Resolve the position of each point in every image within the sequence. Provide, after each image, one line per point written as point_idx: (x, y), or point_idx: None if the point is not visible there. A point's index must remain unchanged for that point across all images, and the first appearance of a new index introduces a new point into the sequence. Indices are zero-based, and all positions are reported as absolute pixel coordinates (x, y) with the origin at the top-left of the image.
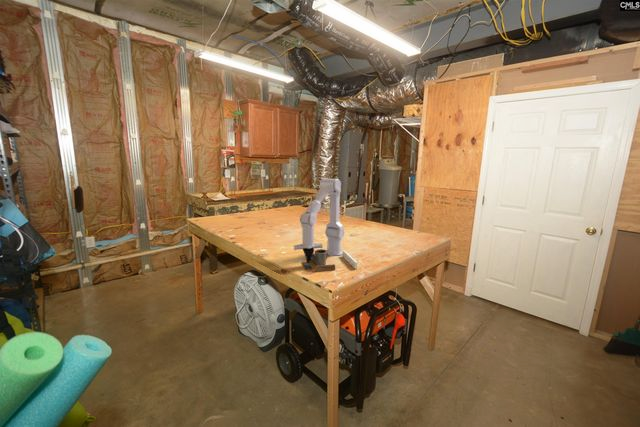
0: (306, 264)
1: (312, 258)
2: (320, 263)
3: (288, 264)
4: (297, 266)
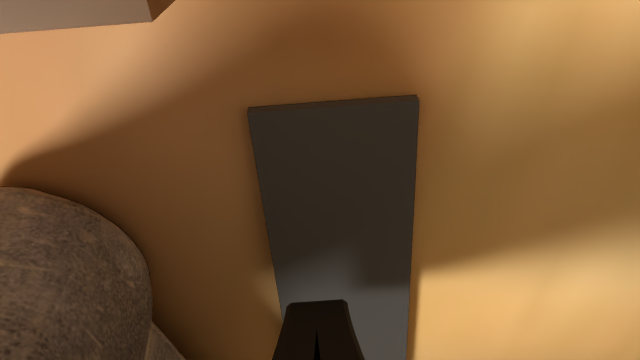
0: None
1: None
2: (24, 235)
3: (627, 344)
4: (518, 264)
